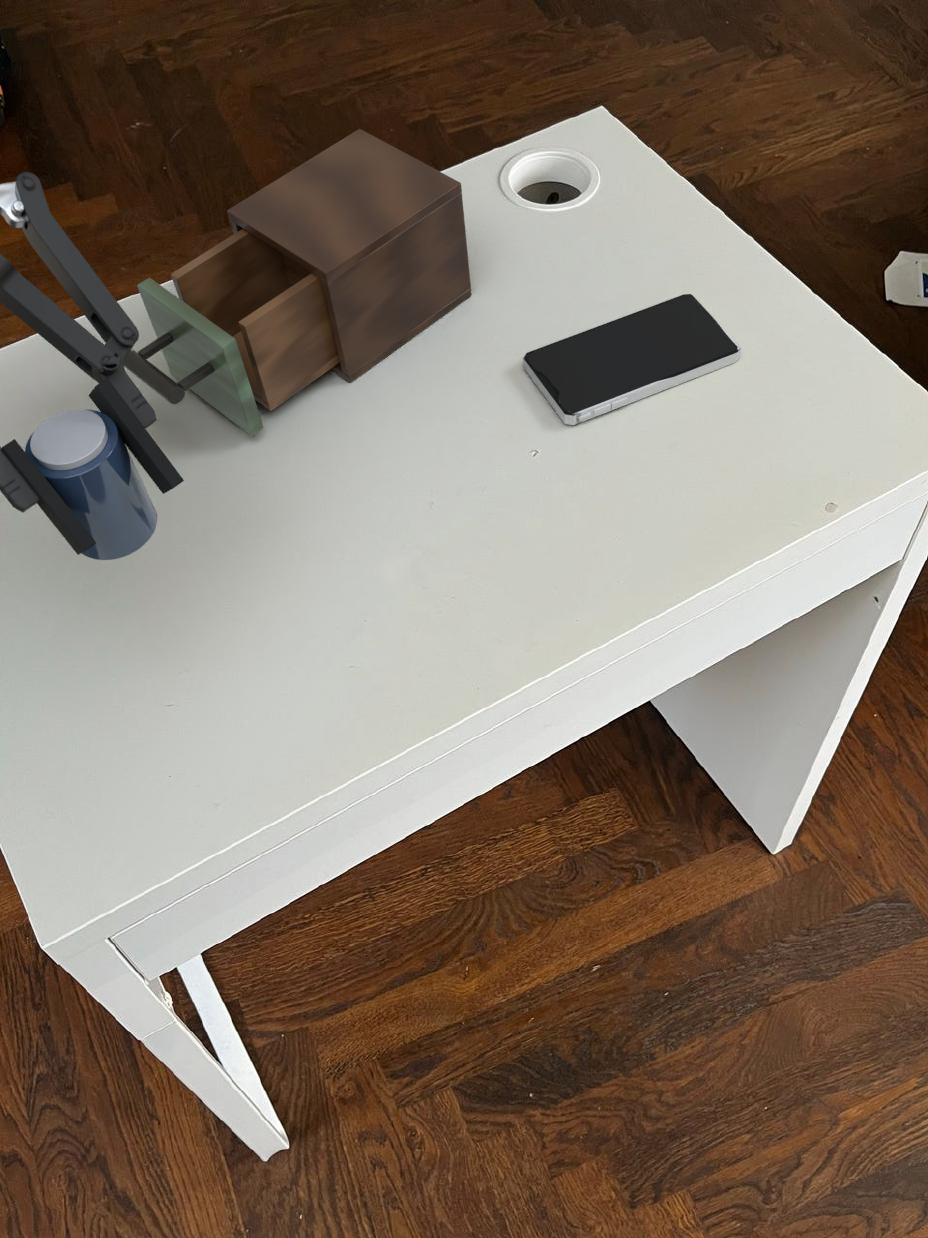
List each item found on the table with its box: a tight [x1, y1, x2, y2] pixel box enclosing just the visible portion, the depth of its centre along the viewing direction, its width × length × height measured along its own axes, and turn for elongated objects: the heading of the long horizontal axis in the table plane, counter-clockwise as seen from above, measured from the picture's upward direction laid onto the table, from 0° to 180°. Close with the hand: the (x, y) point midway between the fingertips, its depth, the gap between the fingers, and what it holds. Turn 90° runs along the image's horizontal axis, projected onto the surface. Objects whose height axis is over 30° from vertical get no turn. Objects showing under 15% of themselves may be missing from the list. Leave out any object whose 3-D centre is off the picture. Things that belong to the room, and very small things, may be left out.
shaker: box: [24, 408, 158, 561], centre depth 63 cm, size 5×5×8 cm
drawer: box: [124, 229, 340, 437], centre depth 87 cm, size 17×10×9 cm, turn 135°
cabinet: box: [226, 128, 472, 384], centre depth 91 cm, size 14×12×11 cm
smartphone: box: [522, 293, 742, 426], centre depth 88 cm, size 8×1×15 cm
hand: (130, 516), depth 62 cm, fingers closed on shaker, 5 cm apart
